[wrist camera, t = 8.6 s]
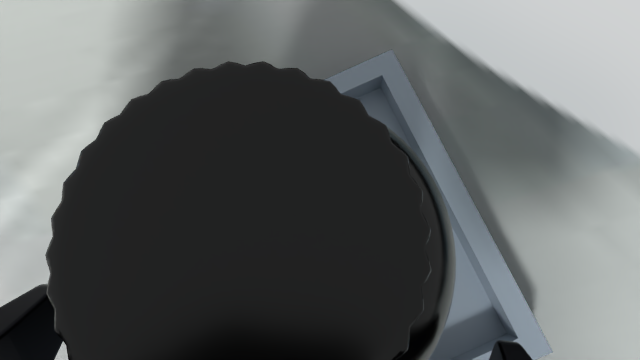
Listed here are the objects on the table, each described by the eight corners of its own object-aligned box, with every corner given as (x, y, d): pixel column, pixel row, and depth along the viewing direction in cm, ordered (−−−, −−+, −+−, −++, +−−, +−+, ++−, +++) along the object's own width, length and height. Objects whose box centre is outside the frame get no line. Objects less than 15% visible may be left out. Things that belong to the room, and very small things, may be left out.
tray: (532, 343, 16) (553, 352, 15) (233, 479, 16) (217, 504, 15) (389, 69, 19) (392, 49, 17) (131, 185, 19) (108, 177, 17)
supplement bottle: (410, 177, 17) (512, -19, 6) (411, 364, 16) (545, 607, 4) (238, 174, 18) (14, -8, 6) (224, 353, 17) (-93, 541, 5)
